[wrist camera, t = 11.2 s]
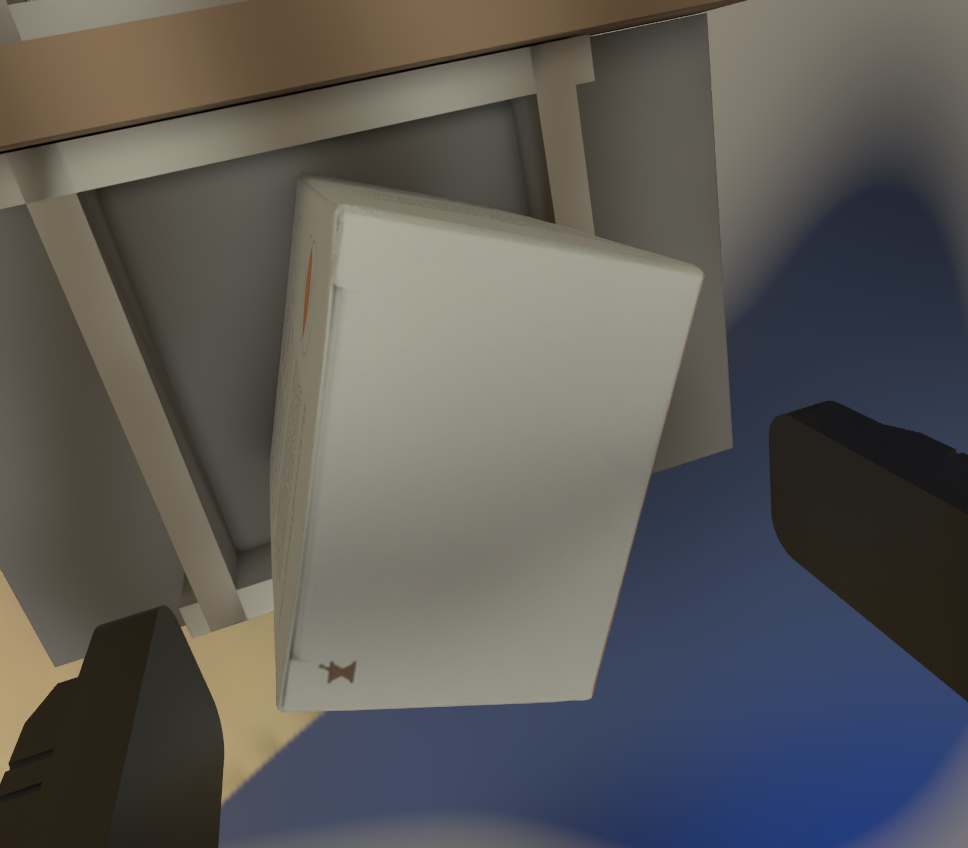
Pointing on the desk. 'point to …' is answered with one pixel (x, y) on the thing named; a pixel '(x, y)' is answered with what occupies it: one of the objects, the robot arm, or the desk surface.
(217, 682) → the desk surface
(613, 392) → the small box
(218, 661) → the desk surface
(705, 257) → the door edge frame
